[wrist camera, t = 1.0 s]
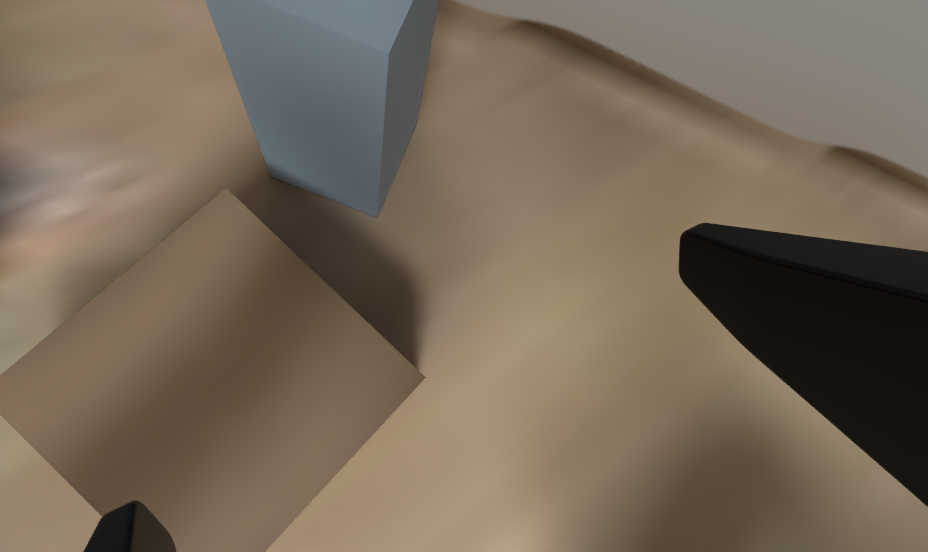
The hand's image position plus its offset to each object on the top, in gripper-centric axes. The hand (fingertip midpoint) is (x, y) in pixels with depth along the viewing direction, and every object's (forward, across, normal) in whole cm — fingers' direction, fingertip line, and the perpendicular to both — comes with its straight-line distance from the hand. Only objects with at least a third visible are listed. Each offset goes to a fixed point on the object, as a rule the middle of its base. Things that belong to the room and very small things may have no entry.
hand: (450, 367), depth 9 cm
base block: (+12, +5, +8) cm, 15 cm away
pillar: (+17, -3, +3) cm, 17 cm away
